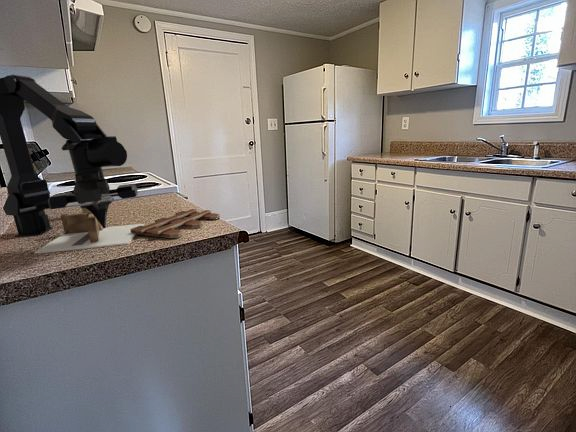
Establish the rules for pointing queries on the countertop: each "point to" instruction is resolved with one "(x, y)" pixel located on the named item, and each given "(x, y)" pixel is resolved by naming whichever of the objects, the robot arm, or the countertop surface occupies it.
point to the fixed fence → (76, 222)
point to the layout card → (82, 240)
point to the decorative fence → (175, 224)
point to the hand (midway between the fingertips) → (104, 227)
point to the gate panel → (92, 228)
